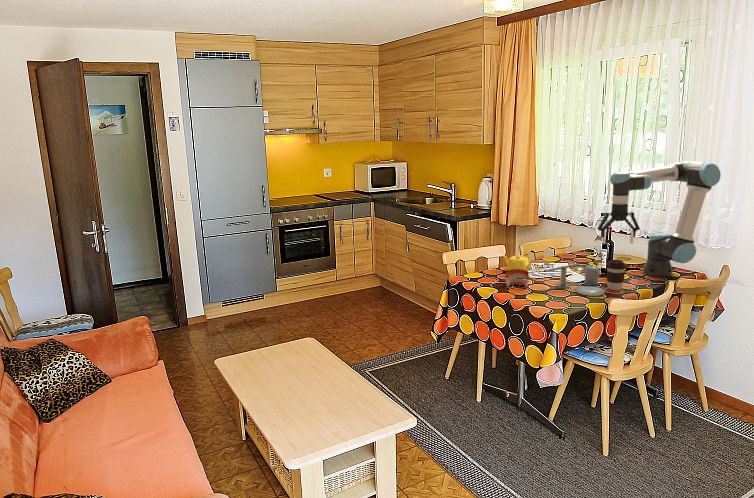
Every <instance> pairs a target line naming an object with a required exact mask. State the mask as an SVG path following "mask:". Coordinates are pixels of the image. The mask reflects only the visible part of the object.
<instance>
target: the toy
mask: <svg viewBox="0 0 754 498" xmlns="http://www.w3.org/2000/svg"><path fill="white" fill-rule="evenodd" d="M529 279H530V273H529V270H528V271H526V270H521V269H513V270H507V271H506V272H505V282H506V286H505V287H506V288H507V289H508V288H509V287H510V286H511V285H522V286H524V289H525V290H527V289H528V283H530V280H529Z"/></svg>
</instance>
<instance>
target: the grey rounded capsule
mask: <svg viewBox="0 0 754 498" xmlns="http://www.w3.org/2000/svg"><path fill="white" fill-rule="evenodd" d="M599 271H600V267H598V266H595V265H586V266H584V284H585V285H586V286H596V285H599V276H600V275H599V274H600V272H599Z"/></svg>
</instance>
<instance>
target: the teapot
mask: <svg viewBox="0 0 754 498" xmlns="http://www.w3.org/2000/svg"><path fill="white" fill-rule="evenodd" d="M502 257H503V258H504V260H505V264H506V266H507V271H508V270H513V269H521V270H526V271H528V272H529V270H530V268H531V267H532V263H533V261H534V260H535V258H531V259H530V260H529V258H528V257H526V256H525V253H522V254H521V255H519V254H518V255H513V256H511V257H509V258H508V257H507V256H506V255H502Z"/></svg>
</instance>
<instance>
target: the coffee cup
mask: <svg viewBox="0 0 754 498" xmlns="http://www.w3.org/2000/svg"><path fill="white" fill-rule="evenodd" d="M605 267H606V282H607V285H606V286H607V289H609V290H611V291H621V290H622V289H623V285H624V281H625V275H626V271H625V270H626V269H627V264H626V263H624V260H621V259H610V260H609V261H608V262H606V263H605Z"/></svg>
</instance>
